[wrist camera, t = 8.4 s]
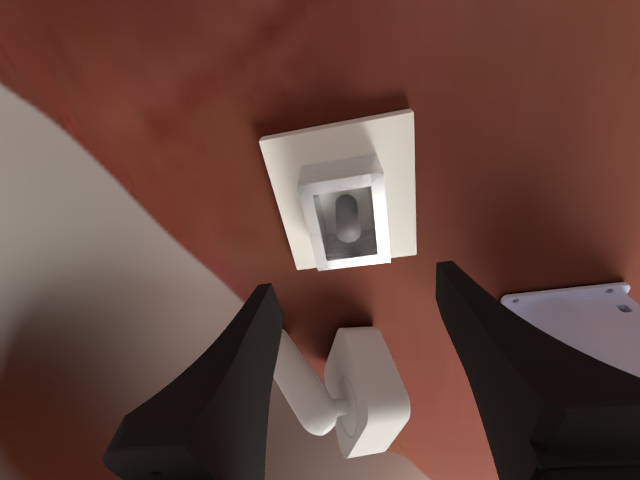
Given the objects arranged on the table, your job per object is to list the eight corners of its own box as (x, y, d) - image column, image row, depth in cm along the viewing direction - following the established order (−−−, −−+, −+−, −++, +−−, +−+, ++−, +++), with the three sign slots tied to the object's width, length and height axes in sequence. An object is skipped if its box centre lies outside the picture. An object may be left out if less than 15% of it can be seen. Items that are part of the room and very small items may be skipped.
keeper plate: (409, 108, 18) (430, 128, 14) (413, 246, 23) (429, 287, 19) (261, 136, 19) (244, 161, 15) (298, 262, 24) (292, 303, 21)
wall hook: (260, 307, 27) (269, 431, 19) (369, 304, 29) (415, 411, 22) (254, 361, 31) (258, 479, 23) (348, 354, 34) (381, 457, 26)
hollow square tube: (301, 165, 19) (297, 185, 16) (376, 152, 18) (383, 171, 16) (319, 244, 22) (317, 270, 20) (383, 235, 22) (390, 262, 19)
